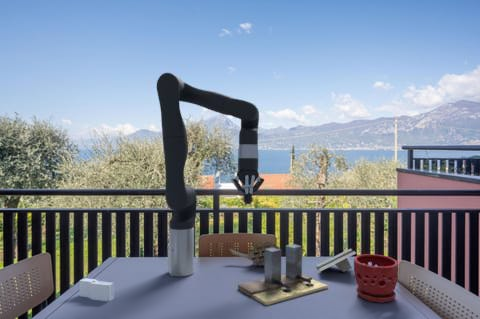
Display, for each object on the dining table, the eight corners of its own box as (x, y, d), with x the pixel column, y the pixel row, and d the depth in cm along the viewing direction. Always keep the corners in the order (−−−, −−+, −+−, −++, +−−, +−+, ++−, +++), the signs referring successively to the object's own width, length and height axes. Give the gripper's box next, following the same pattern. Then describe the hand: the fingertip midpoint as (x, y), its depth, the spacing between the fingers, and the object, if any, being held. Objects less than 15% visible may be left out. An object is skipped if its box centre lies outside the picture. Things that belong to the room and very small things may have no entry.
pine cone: (282, 263, 146) (282, 239, 146) (280, 270, 137) (281, 245, 137) (230, 260, 150) (230, 237, 150) (225, 267, 141) (225, 242, 141)
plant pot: (348, 289, 118) (348, 253, 117) (388, 289, 117) (388, 254, 117) (360, 305, 104) (361, 265, 104) (405, 306, 104) (405, 266, 104)
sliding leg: (284, 290, 112) (284, 256, 112) (264, 280, 121) (264, 249, 121) (293, 288, 114) (294, 254, 114) (273, 278, 123) (273, 247, 123)
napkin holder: (122, 301, 108) (122, 282, 108) (83, 310, 101) (83, 291, 101) (107, 287, 120) (107, 270, 120) (71, 294, 113) (71, 277, 113)
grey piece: (336, 291, 127) (367, 263, 126) (319, 271, 128) (350, 244, 128) (331, 282, 143) (359, 258, 143) (316, 265, 144) (344, 241, 144)
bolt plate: (266, 305, 104) (266, 301, 104) (252, 297, 110) (252, 294, 110) (327, 288, 118) (327, 285, 118) (313, 282, 124) (313, 279, 124)
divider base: (260, 302, 107) (260, 261, 107) (237, 289, 117) (238, 251, 117) (321, 285, 121) (321, 249, 121) (296, 275, 131) (296, 241, 131)
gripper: (260, 157, 136) (259, 201, 136) (227, 156, 131) (227, 203, 131) (268, 157, 129) (268, 204, 129) (235, 156, 124) (234, 205, 124)
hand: (247, 203), depth 130 cm, fingers closed
